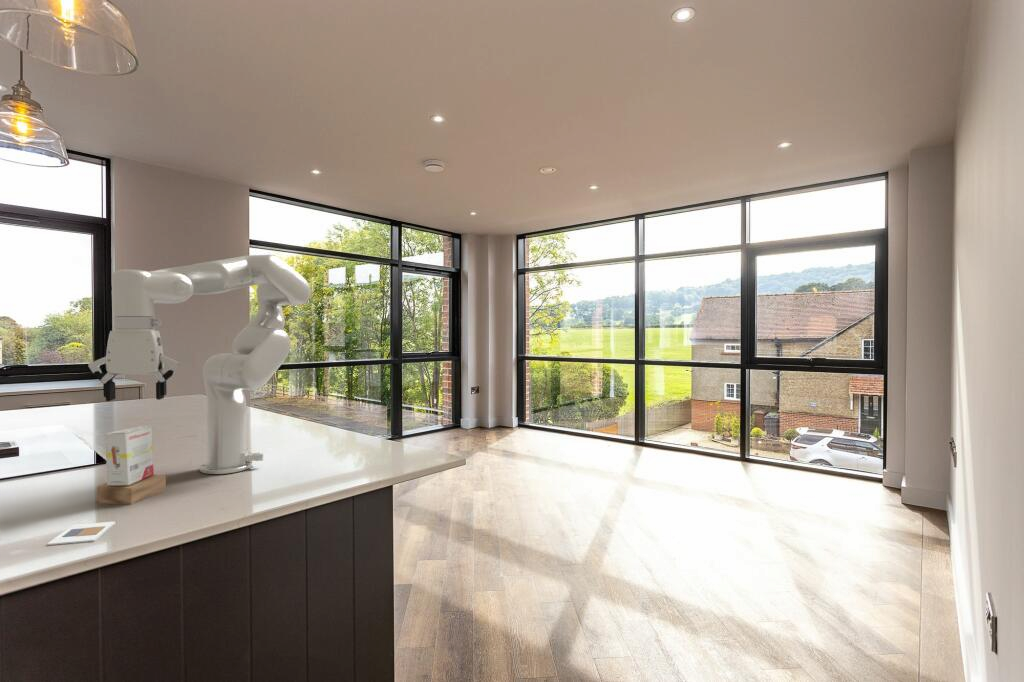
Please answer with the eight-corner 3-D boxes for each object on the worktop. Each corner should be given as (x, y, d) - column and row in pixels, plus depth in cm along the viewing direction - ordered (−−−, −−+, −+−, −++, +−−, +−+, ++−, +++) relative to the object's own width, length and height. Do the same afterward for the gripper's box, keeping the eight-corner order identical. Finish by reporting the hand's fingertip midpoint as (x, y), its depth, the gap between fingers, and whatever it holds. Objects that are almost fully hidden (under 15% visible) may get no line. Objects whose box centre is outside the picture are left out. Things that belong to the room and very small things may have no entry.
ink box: (133, 475, 121) (132, 425, 121) (154, 474, 121) (153, 425, 121) (105, 486, 113) (103, 432, 112) (127, 486, 113) (126, 432, 112)
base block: (165, 491, 122) (165, 475, 122) (131, 506, 112) (131, 488, 112) (134, 490, 122) (134, 473, 122) (97, 504, 113) (97, 486, 112)
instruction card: (115, 522, 101) (115, 521, 101) (94, 541, 93) (94, 539, 93) (72, 526, 99) (72, 524, 99) (46, 545, 91) (46, 543, 91)
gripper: (183, 324, 123) (184, 395, 123) (96, 324, 117) (98, 398, 118) (172, 325, 115) (174, 400, 116) (79, 324, 110) (82, 403, 111)
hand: (135, 399), depth 117 cm, fingers open, 9 cm apart
